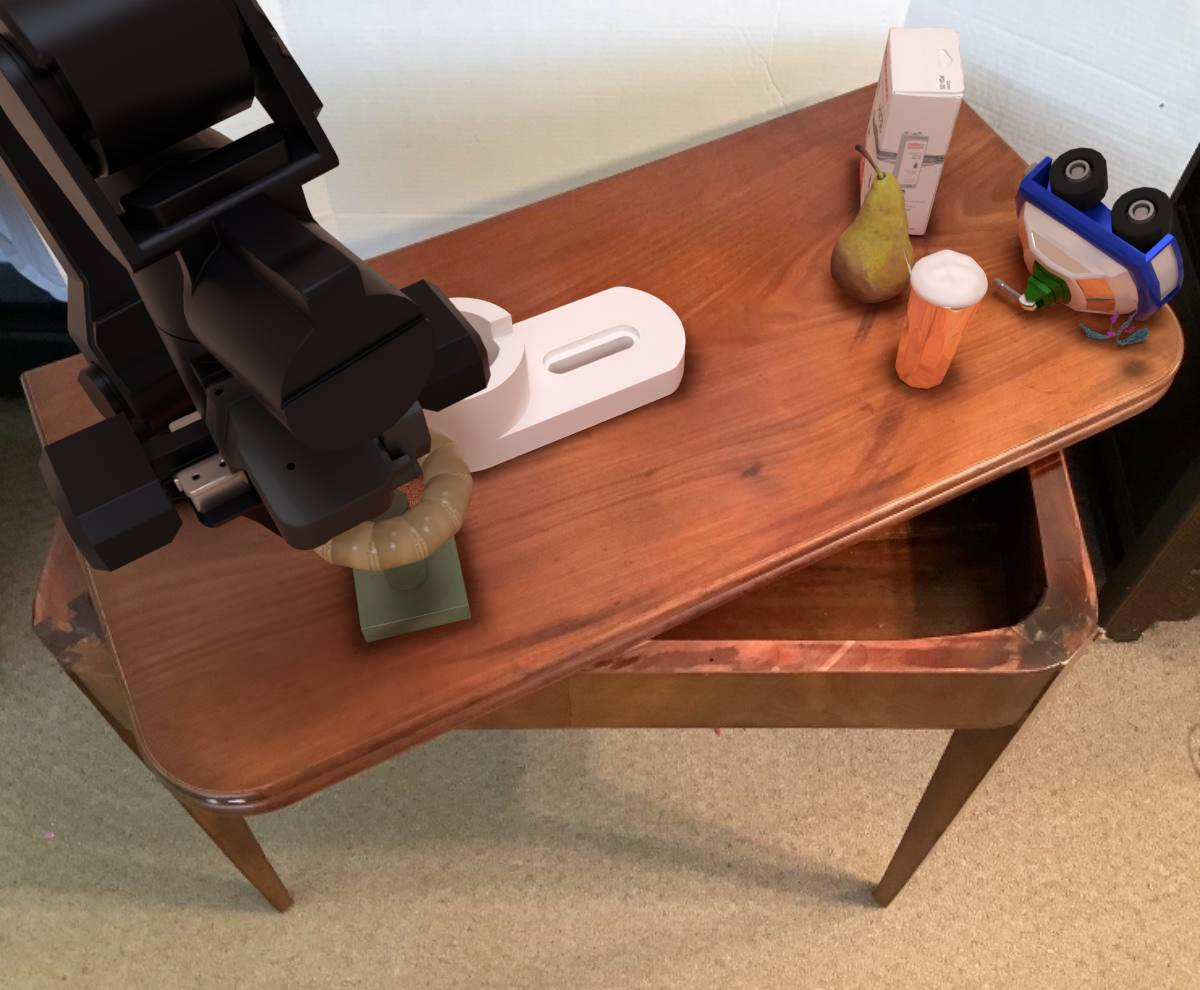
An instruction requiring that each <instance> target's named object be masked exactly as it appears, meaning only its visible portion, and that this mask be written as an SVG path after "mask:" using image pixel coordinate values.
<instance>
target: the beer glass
mask: <svg viewBox="0 0 1200 990" xmlns="http://www.w3.org/2000/svg"><path fill="white" fill-rule="evenodd" d="M904 254H905V258H906V262H907V265H908V269H909V272H910V283H909V285H908V291H907V298H906V305H905V311H904V317H903V322H902V327H901V333H900V338H899V344H898V349H897V354H896V360H895V366H894V369H895V371H896V373H897V376H898V378H899V379H898V380H900V381H902V382H904V383H905V384H906V385H908V386H909V387H910V388H918V389H926V390H929V389H931V388H933V387H936V386H939V385H941V383H942V381H943V380H944V378H945V376H946V374H947V372H948V369H949V368H950V365H951V363H952V361H953V359H954V357H955V355H956V353H957V350H958V349H959V346H960V344H961V341H962V339H963V337H964V335H965V333H966V331H967V329H968V327H969V326H970V324H971V323H972V321H973V319H974V317H975V315H976V313H977V311H978V309H979V307H980V305H981V303H982V301H983V299H984V297H985V295H986V293H987V290H988V285H989V284H988V278H987V275H986V272H985V271H984V269H983V268H982V267H981V266H980V265H979V264H978V262H976V260H974V259H973V257H971V256H969V255H967V254H964V253H960V252H957V251H955V250H952V249H941V250H939V251H936V252H933V253H931V254H929V255H926V256H923V257H921V258H920V259H918V260H917V261H916V262H915V265H914V267H913V269H912V271H911V268H910V264H909V261H908V257H907V253H906V250H905V247H904Z"/></svg>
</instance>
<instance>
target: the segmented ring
mask: <svg viewBox="0 0 1200 990" xmlns="http://www.w3.org/2000/svg"><path fill="white" fill-rule="evenodd" d="M427 426H428V429H429V433H430V436H431V450H430V453H429V454H427V455H425V456H423V457H421V458H419V459H418V460H417V461H418V463H419V465H420V467H421V469H422V472H423V475H422V476H421V477H422V480H423V482H424V483H423V484H424V489H423V492H422V494H421V497H420V499H419V501H418V502H416V503H415V504H414V505H413V506H411V508H410V509H409V510H408V511H407V512H405V513H404V514H403V515H402V516H398V517H394V518H390V519H386V520H382V521H378V522H371V521H365V522H363V523H361V524H359V525H357V526H355V527H353V528H351V529H350V530H348V531H346V532H344V533H342V534H340V535H338V536H336V537H334V538H332V539H331V540H329V541H328V542H327V543H326V544H324V545H322V546H320V547H317V548H315V549H312V550H313V552H315V553H316V555H319V557H321V559H323V560H324V561H326V562H327V563H329V564H332V565H334V566H340V567H345V568H350V569H353V568H356V569H361V570H367V571H372V572H378V571H384V570H388V569H391V568H395V567H399V566H403V565H406V564H410V563H414V562H418V561H421V560H423V559H425V558H427V557H428V556H429V555H431V554H432V553H433V552H434V551H435V550H437V549H438V548H439V547H440V546H441V545H443V544H444V543H445V542H446V541H448V540H449V539H450V538H451V537H452V536H455V535H456V534H457V533H458V532H459V531H460V529H461V528H462V526H463V523H464V521H465V519H466V515H467V513H468V510H469V507H470V504H471V501H472V500H473V499H472V498H473V496H474V492H475V482H474V480H473V477H472V472H470V470H469V467H468V464H467V461H466V458H465V455H464V452H463V450H462V449H461V448H460V446H459V445H457V444H456V443H455V442H453V441H452V440H451V439H449V438H448V437H447V436H445V435H444V434H443V433H441V432H440V431H438V430H437V429H436V428H434V427H433V426H432V425H430V424H428V423H427Z"/></svg>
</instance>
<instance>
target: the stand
mask: <svg viewBox="0 0 1200 990" xmlns="http://www.w3.org/2000/svg"><path fill="white" fill-rule="evenodd" d="M408 497H409V496H408V495H407V494H406V493H405V492H403V491H402V490H400V489H398V488H396V489H394V500H393V503H392V505H391V506H390V508H389V509H388V510H387V511H386V512H385V513H383V514H382V515H380V516H378V517H376V518H374V519H371V520H367V521H371V522H378V521H382V520H386V519H390V518H394V517H398V516H402V515H403V514H404V513H405V512H407V511H408V510H409V509H410V508H412V506H411V503H410V500H409V498H408ZM462 570H463V569H462V566H461V561H460V556H459V551H458V546H457V542H456V537H455V535H454V536H452V537H451V538H450V539H449V540H448V541H446V542H445V543H444V544H443V545H441V546H440V547H439V548H438V549H437V550H435V551H434V552H433V553H432V554H431V555H429V556H428V557H427V558H425V559H423V560H421V561H418V562H414V563H410V564H406V565H403V566H399V567H395V568H391V569H388V570H384V571H378V572H372V571H367V570H361V569H356V568H352V573H353V580H354V588H355V595H356V603H357V610H358V619H359V624H360V631H361V633H362V635H363V639H364V640H365V642H366V643H371V642H375V641H378V640H379V641H380V640H383V639H387V638H392V637H396V636H401V635H405V634H411V633H413V632H417V631H422V630H426V629H430V628H431V629H432V628H435V627H439V626H443V625H449V624H453V623H456V622H457V623H458V622H462V621H465V620H470V619H472V612H471V608H470V604H469V599H468V594H467V590H466V584H465V580H464V576H463V575H464V574H463V571H462Z"/></svg>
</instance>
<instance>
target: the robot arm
mask: <svg viewBox="0 0 1200 990" xmlns="http://www.w3.org/2000/svg"><path fill="white" fill-rule="evenodd" d="M255 98H256V100H257V102H258V103H259V104H260V106H261V107H262V108H263V110H264V111H265V112H266V114H267V115H268V117H269V118H270V120H272V122H269V123H268V124H265V125H263V126H261V127H259V128H257V129H255V130H253V131H251V132H249V133H247V134H245V135H243V136H241V137H238V138H236V139H235V140H233V139H231V138H230V137H228V136H227V135H225V134H223V133H222V132H220V131H218V130H216V129H214V128H212V127H214V126H215V125H217V124H220V123H221V122H224V121H226V120H228V119H230V118H232V117H234V116H237V115H238V114H241V113H242V112H245V111H247V110H248V109H251V108H252V106H253V103H254V100H255ZM324 105H325V104H324V103H323V102H322V100H321V99H320V97H319V96H318V94H317V92H316V91H315V89H314V88H313V86H312V84H311V83H310V82H309V80H308V78H307V76H306V75H305V74H304V72H303V71H302V69H301V67H300V66H299V64H298V62H297V61H296V59H295V58H294V56H293V55H292V54H291V52H290V50H289V48H288V47H287V45H286V43H285V42H284V41H283V39H282V37H281V36H280V34H279V33H278V30H276V28H275V27H274V25H273V23H272V22H271V20H270V18H269V17H268V16H267V14H266V13H265V11H264V10H263V8H262V6H261V5H260V3H259V1H258V0H0V174H1V177H3V179H4V180H5V182H6V184H7V185H8V186H9V188H10V189H11V191H12V193H13V195H15V197H16V199H17V200H18V201H19V203H20V205H21V206H22V208H23V209H24V211H25V212H26V214H27V216H28V217H29V219H30V220H31V221H32V223H33V225H34V226H35V228H36V230H37V231H38V233H39V234H40V236H41V237H42V238H43V240H44V241H45V243H46V244H47V246H48V247H49V250H50V251H51V252H52V254H53V255H54V257H55V258H56V260H57V261H58V263H59V264H60V266H61V267H62V269H63V271H64V272H65V274H66V277H67V279H66V281H67V284H66V285H67V331H68V334H69V336H70V337H71V339H72V340H73V342H74V344H75V345H76V347H77V348H78V350H79V352H80V353H81V354H82V356H83V358H84V359H85V361H86V362H87V364H88V365H86V366H85V367H84V366H83V368H81V369H80V370H79V373H78V376H77V382H78V383H79V385H80V386H81V388H82V389H83V391H84V392H85V394H86V395H87V397H88V398H89V400H90V401H91V403H92V404H93V406H94V407H95V408H96V410H97V411H98V412H99V413H100V414H101V416H103V418H104V419H102V420H101V421H98V422H96V423H94V424H92V425H90V426H87V427H85V428H83V429H81V430H77V431H76V432H74V433H71V434H69V435H67V436H65V437H62V438H59V439H58V440H56V441H53V442H51V443H49V444H46V445H44V446H43V448H42V451H41V454H40V457H39V460H38V464H37V466H38V468H39V470H40V473H41V475H42V477H43V479H44V482H45V484H46V487H47V489H48V491H49V493H50V496H51V498H52V500H53V503H54V505H55V507H56V509H57V511H58V514H59V516H60V518H61V520H62V523H63V525H64V527H65V529H66V531H67V533H68V535H69V536H70V539H71V540H72V541H73V543H74V545H75V547H76V548H77V549H78V551H79V552H80V553H81V555H82V556H83V557H84V559H85V560H86V561H87V563H88V564H89V565H90V567H91V568H92V569H93V570H97V571H103V572H107V573H109V572H110V573H113V572H114V571H116V570H119V569H120V568H122V567H124V566H126V565H129V564H130V563H132V562H133V563H134V562H135V561H136V560H139V559H140V558H142V557H145V556H147V555H149V554H151V553H153V552H155V551H157V550H159V549H161V548H163V547H165V546H167V545H170V544H171V543H173V541H174V539H175V538H176V536H177V534H178V533H179V531H180V529H181V528H182V526H183V524H184V521H183V520H182V517H181V515H180V514H179V512H178V511H177V509H176V507H175V504H181V503H185V502H188V503H189V505H190V506H191V509H192V510H193V512H194V514H195V517H196V518H197V519H198V521H199V523H200V524H201V525H202V526H204V527H205V528H210V529H216V528H219V527H221V526H223V525H226V524H227V523H230V522H232V521H233V520H236V519H237V518H240V517H241V516H242V517H243V518H247V519H249V520H251V521H254V522H256V523H257V524H259V525H261V526H263V527H264V528H266V529H267V530H269V531H271V532H272V533H274V534H275V535H276V536H278V537H280V538H281V539H283V541H284V542H285V544H287V545H289V547H292V548H293V549H294V550H297V551H298V550H299V551H312V550H313V549H315V548H317V547H320V546H322V545H324V544H326V543H327V542H328V541H329V540H331V539H332V538H334V537H336V536H338V535H340V534H342V533H344V532H346V531H348V530H350V529H351V528H353V527H355V526H357V525H359V524H361V523H363V522H365V521H367V520H371V519H374V518H376V517H378V516H380V515H382V514H383V513H385V512H386V511H387V510H388V509H389V508H390V506H391V505H392V503H393V500H394V489H398V488H400V487H402V486H404V485H406V484H408V483H411V482H412V481H414V480H416V479H418V478H419V477H423V476H422V475H423V472H422V469H421V467H420V465H419V463H418V461H417V460H418V459H419V458H421V457H423V456H425V455H427V454H429V453H430V450H431V436H430V433H429V429H428V426H427V423H426V419H425V416H424V412H423V409H426V410H430V411H435V412H439V411H441V410H443V409H445V408H447V407H449V406H451V405H453V404H455V403H457V402H459V401H461V400H463V399H465V398H467V397H469V396H471V395H473V394H476V393H478V392H480V391H482V390H484V389H486V388H487V385H488V383H489V380H490V377H491V373H490V366H489V360H488V353H487V350H486V348H485V346H484V343H483V341H482V339H481V337H480V335H479V334H478V332H477V331H476V330H475V329H474V328H473V327H472V325H471V324H470V323H469V322H468V321H467V319H466V318H465V317H464V316H463V315H462V314H461V312H460V311H459V310H458V309H457V308H456V307H455V305H454V304H453V303H452V302H451V301H450V300H449V298H450V297H448V296H447V295H446V294H445V292H444V291H443V290H442V289H441V287H439V286H438V285H437V284H435V283H432V282H430V281H428V280H426V279H424V278H422V279H419V280H418V281H415V282H413V283H411V284H409V285H406V286H404V287H401V288H400V289H399V288H398V287H396V286H395V285H394V284H392V283H391V282H390V281H389V280H388V279H386V278H385V277H384V276H382V275H381V274H380V273H379V272H378V271H377V270H375V269H374V268H373V267H371V266H370V265H369V264H368V263H367V262H366V261H364V260H363V259H362V258H361V257H359V256H358V255H357V254H356V253H355V252H353V251H352V250H351V249H349V248H348V247H347V246H346V245H344V244H343V243H342V242H341V241H340V240H338V239H337V238H336V237H335V236H334V235H332V234H331V233H330V232H328V231H327V229H325V228H324V227H322V225H321V224H319V222H318V221H317V220H316V219H315V218H314V217H313V214H312V212H311V210H310V208H309V205H308V202H307V199H306V194H305V192H304V188H303V186H304V185H306V184H307V183H309V182H312V181H313V180H315V179H317V178H319V177H321V176H323V175H325V174H326V173H328V172H331V171H332V170H335V168H338V167H339V166H340V158H339V155H338V154H337V152H336V150H335V149H334V146H333V145H332V143H331V141H330V139H329V138H328V136H327V134H326V132H325V131H324V129H323V127H322V125H321V124H320V122H319V120H318V117H319V115H320V114H321V112H322V110H323V108H324Z"/></svg>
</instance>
